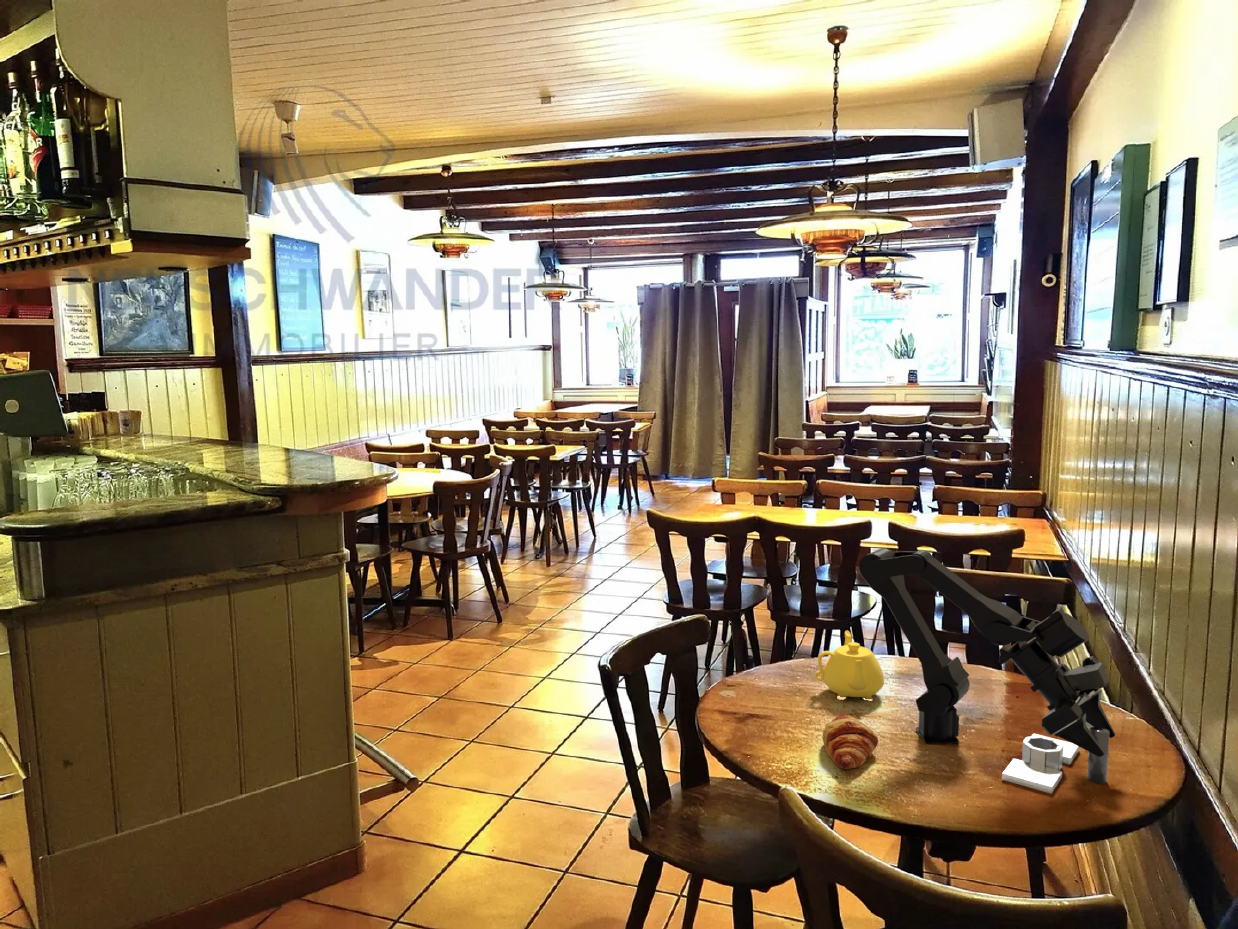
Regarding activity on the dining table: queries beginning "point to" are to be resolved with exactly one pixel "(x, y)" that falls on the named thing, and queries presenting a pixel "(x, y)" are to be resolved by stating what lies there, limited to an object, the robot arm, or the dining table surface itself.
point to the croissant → (849, 741)
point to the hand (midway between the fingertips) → (1107, 746)
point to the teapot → (851, 670)
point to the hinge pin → (1099, 764)
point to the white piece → (1040, 763)
